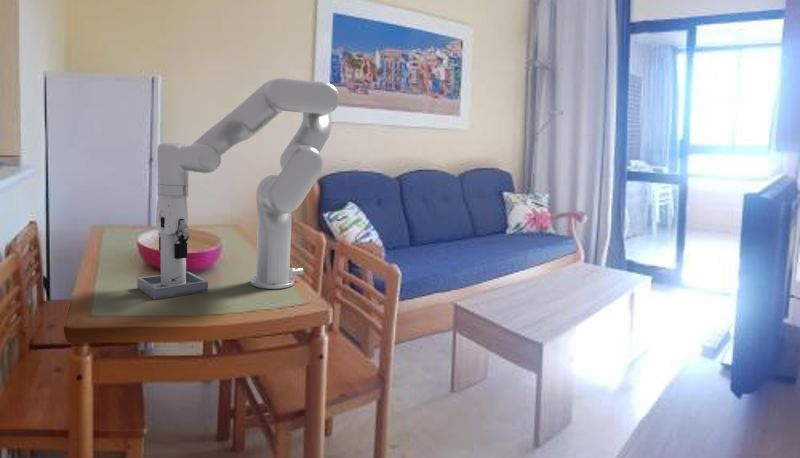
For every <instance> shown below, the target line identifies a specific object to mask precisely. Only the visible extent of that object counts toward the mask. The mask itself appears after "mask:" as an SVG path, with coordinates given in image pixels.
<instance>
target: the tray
mask: <svg viewBox="0 0 800 458" xmlns="http://www.w3.org/2000/svg"><path fill="white" fill-rule="evenodd" d="M136 281H137V289H138V290H140V291H142V293H144V294H146V295H148V297H151V298H152V299H154V300H161V299H163V300H164V299H167V298H174V297H181V296H189V295H194V294H200V293H208V291H209V289H208V287H209V286H208V285H209V281H208V280H206V279H204V278H202V277H199V276H198V275H196V274H194V273H193V272H190V271H186V284H181V285H174V286H167V287H161V274H160V275H159V274H158V275H151V276H150V275H149V276H141V277H137V280H136Z"/></svg>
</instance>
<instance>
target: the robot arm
mask: <svg viewBox="0 0 800 458" xmlns="http://www.w3.org/2000/svg"><path fill="white" fill-rule="evenodd" d="M339 103H340V93H339V91H338V89H337V88H336V86H334V85H333V84H331V83H329V82H326V81H318V80H317V81H315V80H302V79H294V78H285V77H284V78H283V77H282V78H275V79H274V78H273V79H270V80H268V81H266V82H265V83H263V84H261V86H260V87H259V88H257V89H256V90H255V91H254V92H253V93H252V94H251V95H250V96H248V97H247V98H246V99H245V100H244V101H243V102H242V103H240V104H239V105H238V106H237V107H235V108H234V109H233V110H232V111H231V112H229V113H227V115H226V116H224V117H223V118H222V119H221V120H220V121H218V122H217V123H216V124H214V125H213V126H212V127H211V128H210V129H208V130H207V131H206V132H205V133H203V134H202V135H201V136H200V137H199V138H198V139H196V140H195V141H194V142H193V143H192V144H190V145H186V144H184V143H180V142H179V143H177V142H161V143H160V144H158V146H157V149H156V151H157V155H156V156H157V160H156V161H157V167H156V169H157V171H156V172H157V178H156V179H157V182H156V183H157V184H156V185H157V187H156V188H157V190H156V191H157V195H156V196H157V202H156V216H155V229H156V230H157V231H158V251H159V252H161V233H160V229H161V228H160V226H161V217H162V218H165V224H164V225H165V230H164V231H165V234H167V235H169V236H171V235H172V234H173V235H174V238H175V241H176V244H174V258H175V259H181V258H186V259H187V258H188V244H189V237H190V236H189V234H190V231H191V230H190V228H189V211H188V199H187V198H188V197H189V172H193V173H194V172H195V173H199V174H210V173H211V174H212V173H213V172H215V171H216V170H217V169H219V167H220V166H221V164H222V163H221V162H222V156H223V155H224V154H225V153H226V152H227V151H229V150H230V149H231V148H233V147H234V146H236V145H238V144H240V143H242V142H245V141H246V140H249V139H251V138H252V137H255V135H257V134H258V133H259V132H260V131H262V129H264V127H266V126H267V125H268V124H269V123H270V122H271V121H272V120H274V119H275V118H276V117H277V116H278V115H279V114H280V113H282V112H292V113H302V122H301V124H300V126H299V128H298V129H297V131H296V132H295V134H294V136H293V137H292V139H291V140H290V142H289V143H288V145H287V146H286V147H285V149H284V150H283V152H282V154H281V155H280V158H279V164H280V168H281V169H282V170H281V171H280V173H279V174H278V175H277V174H271V175H267V176H266V177H264V178H262V179H261V181H260V182H259V183H258V185H257V188H256V208H257V209H256V210H257V212H256V213H257V232H256V233H257V235H256V239H257V240H256V266H255V276H252V277H250V280H249V281H250V282H249V283H250V285H252V286H253V287H255V288H260V289H267V290H278V289H279V290H280V289H286V288H290V287H292V286H293V285H295V278H294V277H295V275H297V276H298V275H299V276H300V275H303V273H304V268H303V267H296V268H295V267H291V243H292V241H291V240H292V212H294V211H295V210H297V209H298V208H299V207H300V206H301V204H302V203H303V202H304V201H305V198H306V197H307V195H308V194H309V192H310V191H311V190H312V188H313V186H314V185H315V183H316V182H317V180H318V179H319V177H320V175H321V172H322V170H323V157H322V155H321V151H322V150H323V148H324V146H325V144H326V142H327V141H328V139H329V136H330V134H331V131H332V126H333V125H332V124H333V123H332V115H331V113H332V112H334V111H335V110H336V109H337V108H338V106H339ZM178 225H179V228H181V229H180V230H177V228H178ZM176 231H182V232H176ZM178 236H180V238H178Z"/></svg>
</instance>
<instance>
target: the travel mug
mask: <svg viewBox="0 0 800 458" xmlns="http://www.w3.org/2000/svg"><path fill="white" fill-rule="evenodd" d="M164 224H165V218H162V217H161V226H160V228H161V229H160V233H161V236H160V237H161V251H160V275H161V287H167V286H174V285H181V284H186V272H187V258H181V259H175V258H174V244H176V241H175V238H174V235H173V234H172V235H171V236H169V235H167V234H165V231H164V230H165V225H164ZM180 229H181V228H179V225H178V228H177V230H180ZM176 232H182V231H176ZM178 238H180V236H178Z"/></svg>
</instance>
